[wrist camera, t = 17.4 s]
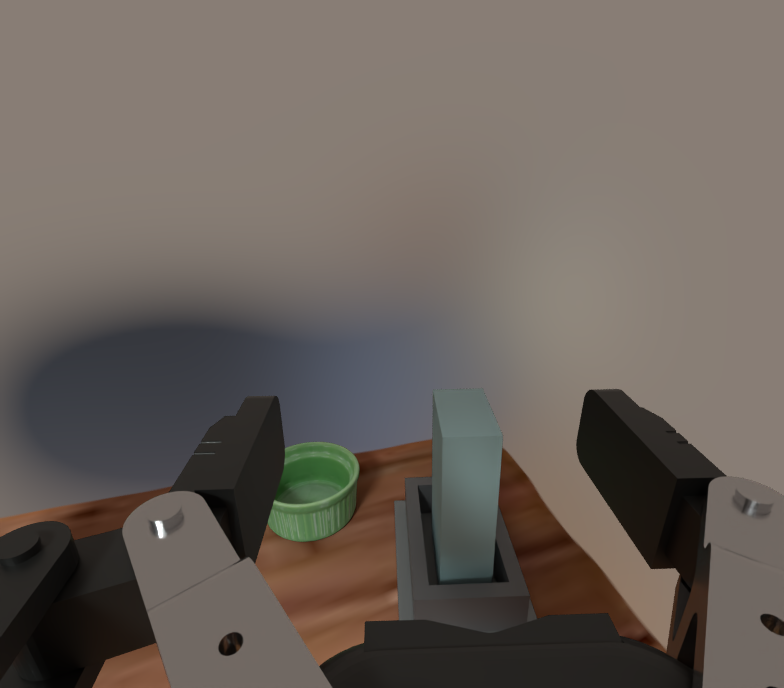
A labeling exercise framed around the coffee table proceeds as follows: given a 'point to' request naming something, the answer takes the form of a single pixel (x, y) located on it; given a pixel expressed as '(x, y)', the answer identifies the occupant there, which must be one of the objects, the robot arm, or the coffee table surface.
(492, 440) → the tall teal prism
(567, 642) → the robot arm
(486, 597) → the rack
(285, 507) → the ramekin
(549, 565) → the coffee table surface
